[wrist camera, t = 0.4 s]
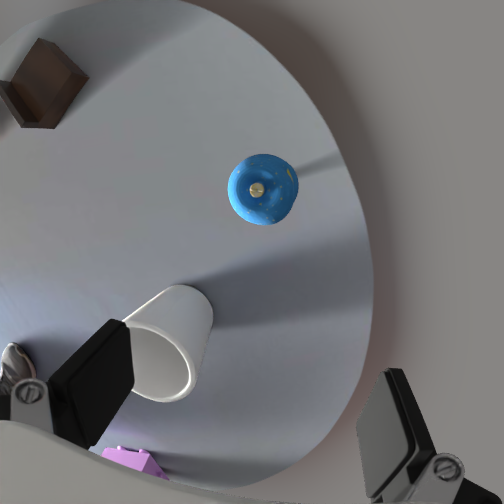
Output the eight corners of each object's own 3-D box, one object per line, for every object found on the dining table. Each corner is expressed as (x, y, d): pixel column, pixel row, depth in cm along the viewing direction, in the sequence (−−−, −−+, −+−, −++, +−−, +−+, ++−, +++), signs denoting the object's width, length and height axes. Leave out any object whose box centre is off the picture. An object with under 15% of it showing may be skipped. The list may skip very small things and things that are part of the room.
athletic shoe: (45, 361, 47) (10, 394, 36) (30, 408, 55) (6, 435, 43) (13, 327, 46) (-24, 354, 35) (4, 381, 54) (-21, 405, 42)
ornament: (290, 208, 34) (290, 241, 19) (245, 199, 34) (212, 225, 20) (299, 162, 32) (307, 160, 18) (253, 154, 33) (225, 145, 18)
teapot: (162, 449, 49) (142, 496, 37) (181, 475, 52) (165, 519, 40) (91, 439, 53) (67, 475, 41) (112, 464, 55) (92, 499, 43)
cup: (147, 324, 40) (102, 377, 28) (159, 262, 37) (107, 305, 25) (212, 351, 40) (185, 415, 28) (233, 290, 37) (207, 347, 25)
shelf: (54, 43, 30) (25, 33, 24) (89, 78, 32) (57, 68, 25) (24, 89, 33) (-7, 85, 26) (54, 129, 34) (21, 127, 27)
